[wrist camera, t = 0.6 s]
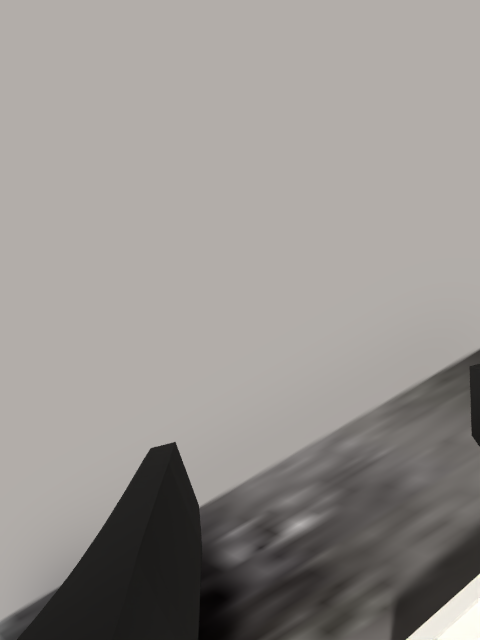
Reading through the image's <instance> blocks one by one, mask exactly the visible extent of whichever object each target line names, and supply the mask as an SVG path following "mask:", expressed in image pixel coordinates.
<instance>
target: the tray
mask: <svg viewBox="0 0 480 640" xmlns="http://www.w3.org/2000/svg"><path fill="white" fill-rule="evenodd" d="M406 640H480V574H479V575H478V576H477V577H476V578H475V579H474V580H472V581H471V582H470V583H469V584H468V585H467V586H466V587H465V588H463V589H462V590H461V591H460V592H459V593H458V594H457V595H456V596H454V597H453V598H452V599H451V600H450V601H449V602H448V603H447V604H445V605H444V606H443V607H442V608H441V609H440V610H439V611H438V612H436V613H435V614H434V615H433V616H432V617H431V618H430V619H429V620H427V621H426V622H425V623H424V624H423V625H422V626H421V627H420V628H418V629H417V630H416V631H415V632H414V633H413V634H412V635H411V636H409V637H408V638H407V639H406Z"/></svg>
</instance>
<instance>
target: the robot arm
mask: <svg viewBox="0 0 480 640" xmlns="http://www.w3.org/2000/svg"><path fill="white" fill-rule="evenodd" d="M470 392H471V426H472V436H473V438H474V439H475V441H476V442H477V443H478V445H479V446H480V364H477V365H473V366H470ZM201 560H202V542H201V526H200V514H199V504H198V502H197V499H196V496H195V494H194V491H193V488H192V486H191V483H190V480H189V478H188V475H187V472H186V469H185V467H184V464H183V461H182V459H181V456H180V453H179V450H178V448H177V445H176V442H174V443H170V444H166V445H162V446H158V447H154V448H151V449H150V450H149V452H148V454H147V455H146V457H145V458H144V460H143V462H142V463H141V465H140V467H139V468H138V470H137V472H136V474H135V475H134V477H133V479H132V480H131V482H130V484H129V485H128V487H127V489H126V490H125V492H124V494H123V495H122V497H121V499H120V500H119V502H118V503H117V505H116V507H115V508H114V510H113V512H112V513H111V515H110V516H109V518H108V519H107V521H106V523H105V524H104V526H103V527H102V529H101V530H100V532H99V533H98V535H97V536H96V538H95V539H94V541H93V542H92V544H91V545H90V547H89V548H88V549H87V551H86V552H85V554H84V555H83V557H82V558H81V560H80V561H79V563H78V564H77V565H76V567H75V568H74V569H73V571H72V572H71V574H70V575H69V576H68V578H67V579H66V580H65V581H64V583H63V584H62V585H61V587H60V588H59V589H58V591H57V592H56V593H55V594H54V596H53V597H52V598H51V599H50V601H49V602H48V603H47V604H46V606H45V607H44V608H43V609H42V611H41V612H40V613H39V614H38V616H37V617H36V618H35V619H34V620H33V622H32V623H31V624H30V625H29V626H28V627H27V629H26V630H25V631H24V632H23V633H22V634H21V635H20V637H19V638H18V639H17V640H198V631H199V608H200V586H201Z"/></svg>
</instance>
